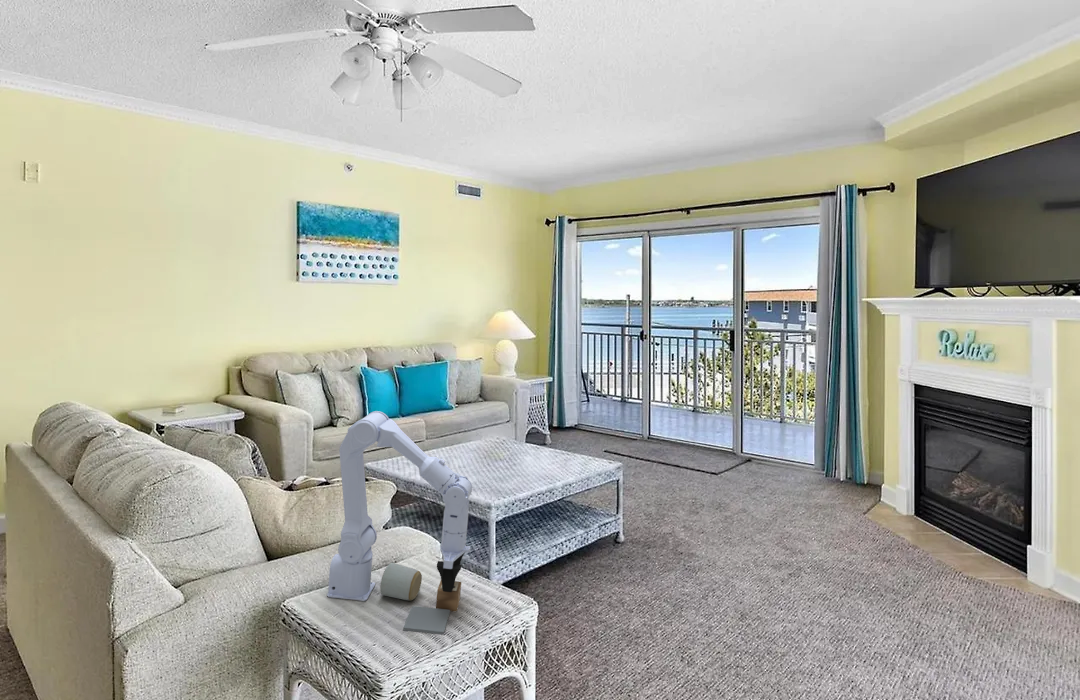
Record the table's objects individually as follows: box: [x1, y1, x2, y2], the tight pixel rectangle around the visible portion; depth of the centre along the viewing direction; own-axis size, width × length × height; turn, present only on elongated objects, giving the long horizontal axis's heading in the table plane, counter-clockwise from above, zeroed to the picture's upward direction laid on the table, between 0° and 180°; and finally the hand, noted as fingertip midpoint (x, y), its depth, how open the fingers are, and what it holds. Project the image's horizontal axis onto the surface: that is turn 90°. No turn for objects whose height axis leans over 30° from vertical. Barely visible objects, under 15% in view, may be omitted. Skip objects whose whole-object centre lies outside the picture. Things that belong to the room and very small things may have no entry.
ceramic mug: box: [379, 561, 423, 601], centre depth 153 cm, size 11×8×8 cm
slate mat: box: [402, 605, 451, 636], centre depth 142 cm, size 9×9×1 cm
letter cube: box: [435, 580, 462, 612], centre depth 150 cm, size 5×5×5 cm
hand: (450, 582), depth 149 cm, fingers open, 7 cm apart
